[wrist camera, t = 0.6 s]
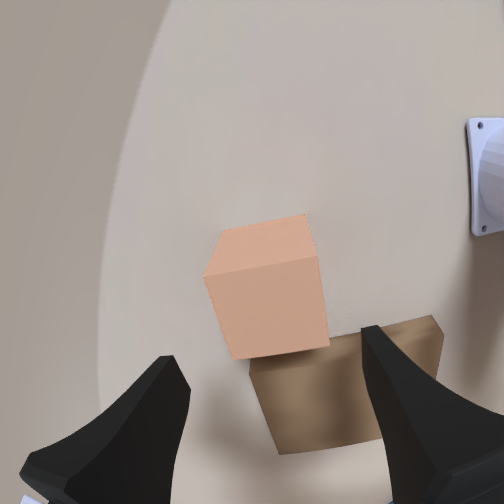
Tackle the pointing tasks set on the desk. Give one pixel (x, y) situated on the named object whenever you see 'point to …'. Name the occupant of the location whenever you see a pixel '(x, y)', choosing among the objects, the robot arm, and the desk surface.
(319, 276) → the terracotta block
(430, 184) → the desk surface
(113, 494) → the robot arm
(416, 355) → the block
